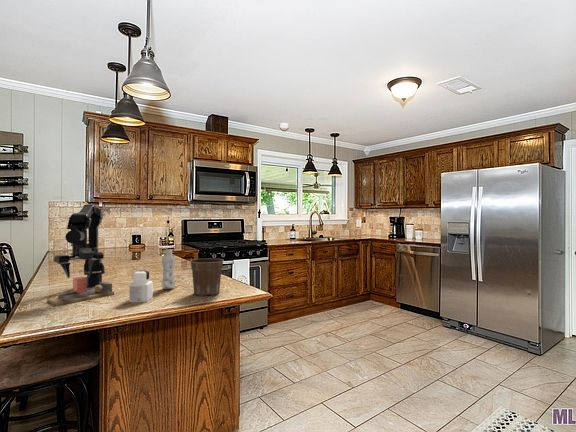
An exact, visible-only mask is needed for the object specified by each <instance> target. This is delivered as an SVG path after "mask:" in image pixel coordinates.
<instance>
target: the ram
mask: <svg viewBox="0 0 576 432" xmlns="http://www.w3.org/2000/svg"><path fill="white" fill-rule="evenodd" d="M86 277H87V276H77V277H73V278H72V292H73V295H74V294H79V293H84V292H89V294H94V293H95V289H94V287H89V288H88V286H87V278H86Z"/></svg>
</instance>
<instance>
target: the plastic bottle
mask: <svg viewBox="0 0 576 432" xmlns="http://www.w3.org/2000/svg"><path fill="white" fill-rule="evenodd" d="M175 262H176V259H175V257H174V256H173V249H164V255H163V257H162V258H161V267H162V280H161V288H162V289H163V290H172V289H174V288H175V286H176V283H175V282H176V281H175V274H174V273H175V271H174V270H175Z"/></svg>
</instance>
